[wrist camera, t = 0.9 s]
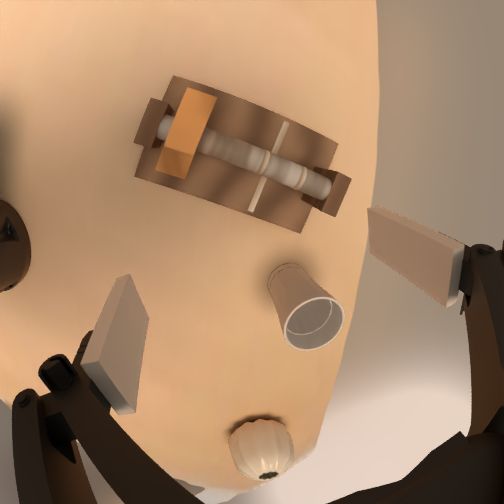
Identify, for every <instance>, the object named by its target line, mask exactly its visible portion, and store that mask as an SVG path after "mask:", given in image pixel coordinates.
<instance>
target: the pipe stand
mask: <svg viewBox="0 0 504 504" xmlns="http://www.w3.org/2000/svg"><path fill="white" fill-rule="evenodd" d="M187 87H188V88H191V89H194V90H197V91H200V92H203V93H206V94H209V95H212V96H215V97H217V100H216V102H215V105H214V107H213V110H212V112H211V115H210V117H209V119H208V122H207V124H206V127H205V128H204V131H203V133H202V136H201V138H200V141H199V143H198V146H197V148H196V152H195V154H194V157H193V160H192V162H191V165H190V168H189V170H188V173H187V175H186V178H185V180H184V179H181V178H178V177H175V176H172V175H169V174H166V173H163V172H160V171H157V170H155V168H156V165H157V163H158V160H159V157H160V154H161V151H162V149H163V146H164V143H165V141H166V138H167V135H168V133H169V130H170V128H171V125H172V123H173V120H174V118H175V115H176V113H177V110H178V108H179V106H180V103H181V101H182V99H183V96H184V94H185V92H186V89H187ZM134 143H136V144H139V145H143V146H145V147H144V149H143V152H142V155H141V158H140V161H139V164H138V167H137V170H136V173H135V176H134V177H138V178H141V179H144V180H147V181H150V182H153V183H156V184H159V185H163V186H166V187H169V188H172V189H175V190H178V191H181V192H184V193H187V194H190V195H193V196H196V197H199V198H202V199H205V200H208V201H211V202H213V203H216V204H219V205H222V206H225V207H228V208H231V209H234V210H236V211H239V212H242V213H245V214H248V215H251V216H253V217H256V218H259V219H262V220H265V221H267V222H270V223H273V224H276V225H278V226H281V227H284V228H286V229H289V230H292V231H295V232H297V233H300V234H301V231H302V229H303V227H304V224H305V222H306V220H307V218H308V215H309V213H310V211H311V208H312V206H313V207H315V208H317V209H318V210H320V211H322V212H324V213H327V214H329V215H331V216H334V217H336V214H337V212H338V210H339V208H340V205H341V203H342V201H343V198H344V196H345V194H346V191H347V189H348V187H349V184H350V182H351V178H349V177H347V176H345V175H343V174H341V173H339V172H337V171H332V170H328V168H329V166H330V163H331V161H332V159H333V156H334V154H335V151H336V149H337V146H338V143H336V142H334V141H332V140H330V139H328V138H326V137H325V136H323V135H321V134H319V133H317V132H315V131H313V130H311V129H309V128H307V127H305V126H303V125H300V124H298V123H296V122H294V121H292V120H290V119H288V118H285V117H283V116H281V115H279V114H277V113H274V112H272V111H270V110H267V109H265V108H263V107H260V106H258V105H256V104H253V103H251V102H248V101H246V100H243V99H241V98H238V97H235V96H233V95H230V94H227V93H225V92H222V91H219V90H216V89H214V88H211V87H208V86H205V85H202V84H199V83H196V82H193V81H190V80H187V79H183V78H180V77H177V76H173V78H172V80H171V82H170V84H169V86H168V89H167V91H166V93H165V96H164V98H163V100H162V101H160V100H157V99H153V98H151V99H150V101H149V104H148V106H147V108H146V111H145V113H144V116H143V119H142V121H141V124H140V126H139V129H138V132H137V135H136V137H135V140H134Z"/></svg>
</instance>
